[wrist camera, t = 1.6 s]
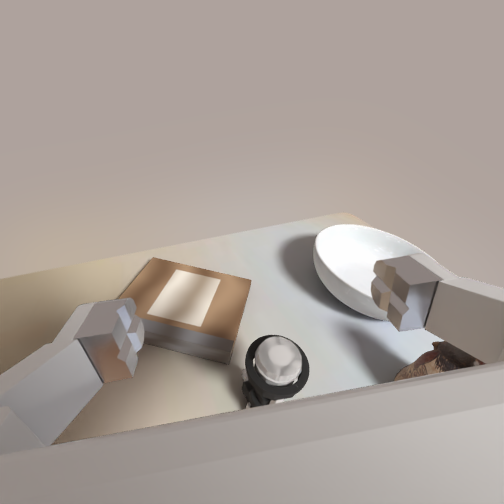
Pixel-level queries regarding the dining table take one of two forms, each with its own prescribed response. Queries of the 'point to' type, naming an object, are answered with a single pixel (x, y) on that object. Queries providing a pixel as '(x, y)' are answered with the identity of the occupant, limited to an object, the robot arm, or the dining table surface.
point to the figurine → (438, 361)
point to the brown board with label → (189, 308)
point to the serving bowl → (356, 262)
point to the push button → (273, 371)
